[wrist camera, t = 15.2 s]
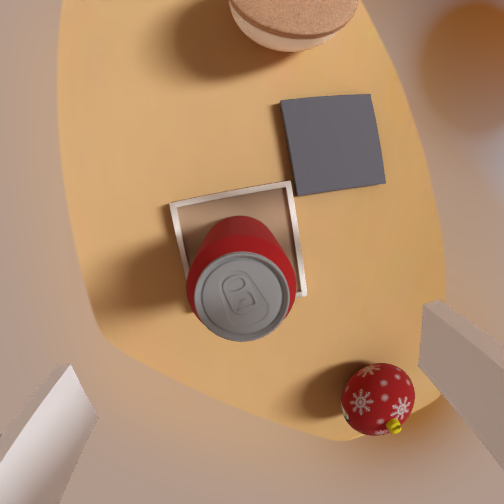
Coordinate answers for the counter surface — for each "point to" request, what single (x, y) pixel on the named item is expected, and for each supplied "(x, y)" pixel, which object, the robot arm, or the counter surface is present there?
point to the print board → (241, 204)
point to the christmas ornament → (378, 399)
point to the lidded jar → (292, 21)
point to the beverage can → (241, 280)
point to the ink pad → (332, 143)
